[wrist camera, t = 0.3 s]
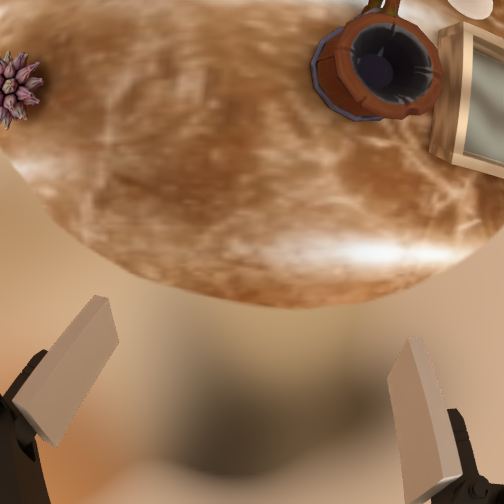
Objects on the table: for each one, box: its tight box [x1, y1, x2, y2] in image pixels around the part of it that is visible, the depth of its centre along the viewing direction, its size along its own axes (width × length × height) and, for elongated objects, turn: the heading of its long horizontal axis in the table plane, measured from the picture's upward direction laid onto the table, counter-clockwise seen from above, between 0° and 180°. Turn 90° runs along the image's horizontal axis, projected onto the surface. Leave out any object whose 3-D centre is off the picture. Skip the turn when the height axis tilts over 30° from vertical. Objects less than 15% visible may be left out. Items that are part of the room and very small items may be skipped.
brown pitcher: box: [310, 0, 444, 121], centre depth 22 cm, size 18×12×15 cm, turn 174°
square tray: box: [428, 21, 504, 178], centre depth 26 cm, size 16×15×7 cm
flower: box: [0, 51, 44, 130], centre depth 30 cm, size 12×12×12 cm
